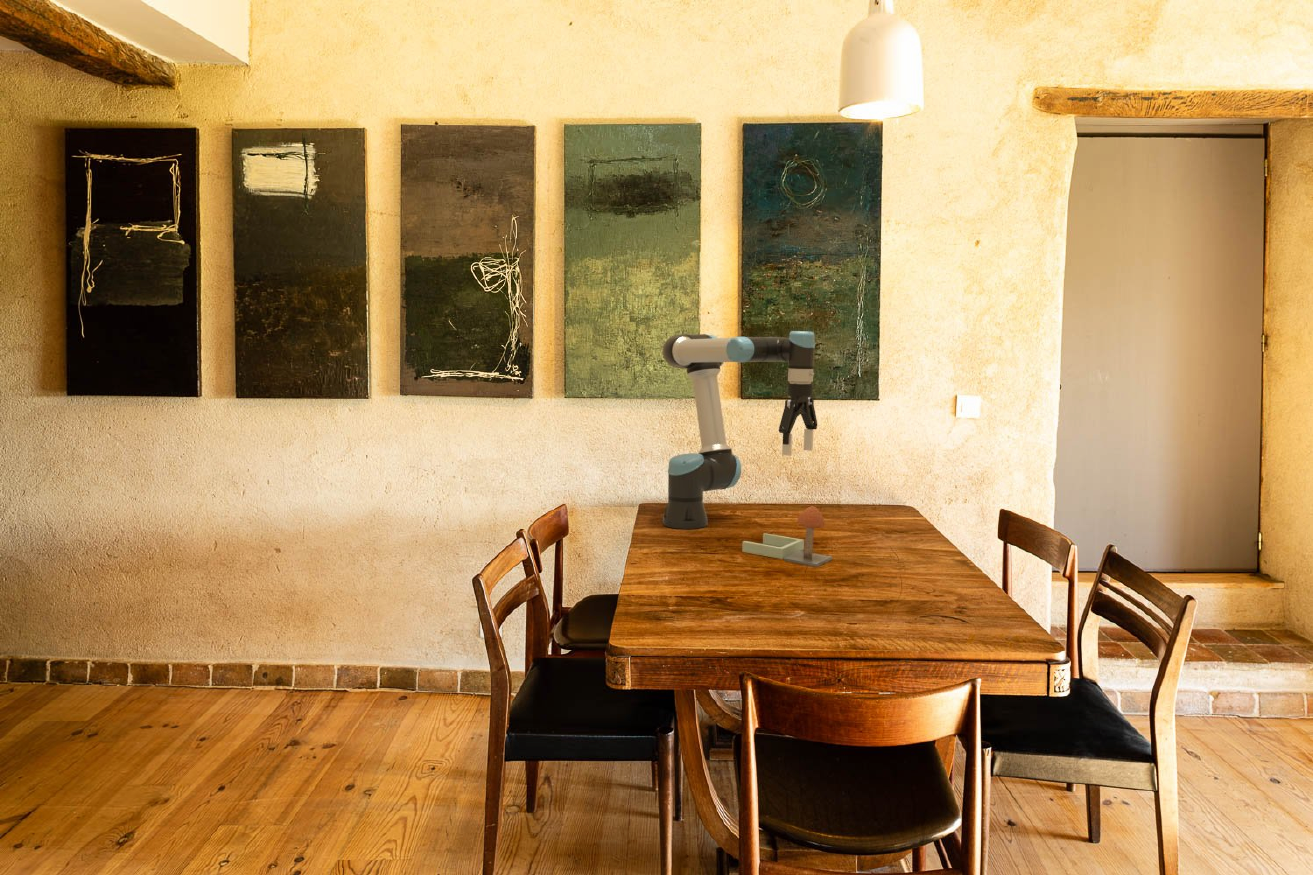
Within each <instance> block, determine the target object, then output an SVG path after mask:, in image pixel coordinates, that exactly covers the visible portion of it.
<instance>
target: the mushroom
mask: <svg viewBox="0 0 1313 875" xmlns="http://www.w3.org/2000/svg"><path fill="white" fill-rule="evenodd" d="M796 523H797V524H799V525H800V526H802V527H805V528H806V529H805V539H804V550H802V551H803V554H804V556H805V557H808V558H810V557H812V554H813V553H814V545H813V544H814V532H815V529H818V528H819V529H820V528H823V527H825V526H826V522H825V519H824V517H823V515H822V513H821V511H820V510H819V509H818V508H817V507H816V506H814V505H811V506H809V507H807V508H806V509H805V510H803V511H802V512H801V513H800V515H799V516H798V518H797V520H796Z"/></svg>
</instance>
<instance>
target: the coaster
mask: <svg viewBox="0 0 1313 875" xmlns="http://www.w3.org/2000/svg"><path fill="white" fill-rule="evenodd" d="M832 560H833V555H827V554H826V555H825V554H820V553H815V552H813V554H812V557H810V558H808V557H805V556H804V554H803V550H802V551H799V552H797V553H795V554H793V555H790V556H788V557H786V558H784V560H783V561H784V562H789V563H794V564H798V565H805V566H810V567H815V568H817V567H820V566H821V565H824V564H825V563H828V562H829V561H832Z"/></svg>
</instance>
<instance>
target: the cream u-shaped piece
mask: <svg viewBox="0 0 1313 875" xmlns="http://www.w3.org/2000/svg"><path fill="white" fill-rule="evenodd" d="M804 545H805V539H803V538H801V539H800V538H796V537H788V536H783V535H777V534H773V533H772V534H771V533H763V534H762V543H758V542H752V541H747V540H744V541H742V546H741V547H742V549H741V550H742V552H741V553H748V554H753V555H759V556H765V557H769V558H773V559H774V558H775V559H779V560H783V559H784V558H786V557H788V556H790V555H793V554H795V553H797V552H799V551H803V550H804Z"/></svg>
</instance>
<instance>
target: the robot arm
mask: <svg viewBox="0 0 1313 875" xmlns="http://www.w3.org/2000/svg"><path fill="white" fill-rule="evenodd" d="M815 337H816V336H815V332H813V331H805V330H802V331H800V330H791V331H790V332H789V336H788V337H782V336H734V337H717V336H716V335H713V334H706V333H703V334H702V333H701V334H683V333H682V334H674V335H672V336H670V337H669V338H668V339H666V341H665V342H664V344H663V346H662V357H663V359H664V361H665V362H666V363H667V364H668V366H670V367H672V368H675V369H686V373H687V374H686V375H687V377H689V378H690V379H691V380H692V386H693V393H694V401H695V408H696V416H697V421H698V422H697V423H698V424H697V425H698V430H699V437H700V445H701V448H700V449H699V451H698V452H695V453H694V452H692V453H691V452H690V453H683V454H681V453H680V454H677V455H675V456H672V457H671V458H670V460H669V462H668V469H667V474H668V476H667V477H668V478H667V479H668V484H667V485H668V487H667V491H668V492H667V495H668V496H667V504H666V507H665V510H664V513H663V516H662V525H663V526H665V527H668V528H671V529H677V530H678V529H682V530H695V529H702V528H705V527H707V526H708V522H709V521H708V520H709V519H708V516H707V512H706V508H705V506H704V502H703V500H704V492H709V491H718V490H726V489H730V488H733V487H735V486H736V485H737V484H738V482H739V480H740V478H741V477H742V476H741V475H742V463H741V460H740V459H739V457H738V456H737V455H735V454H733V449H732V447H730V445H728V444H727V439H726V432H725V427H724V425H725V423H724V419H723V410H722V403H721V395H720V388H719V382H718V375H719V374H720V372H721V367H722V366H723V365H724V363H740V364H741V363H760V362H761V363H765V362H766V363H767V362H769V363H772V362H775V363H777V362H781V363H788V365H787V366H788V367H787V372H788V374H787V381H788V382H789V383H787V389H786V391H787V395H788V396H790V399H785V402H784V408H783V412H782V416H781V419H780V423H779V427H778V433H780V434H782V443H781V444H782V445H781V446H782V447H781V450H782V451H781V455H782V456H788V457H790V456H792V450H793V449H792V446H793V433H792V431H793V428H794V426H795V424H796V420H797V419H798V417H799V416H801V418H802V421H803V424H804V426H805V428H804V430H803V451H808V452H809V451H811V452H812V451H813V450H814V449H813V448H814V430H817V429H818V421H817V420H818V419H817V415H816V408H815V404H814V397H812V396H813V393H814V392H813V391H814V385H813V382H814V375H815V372H814V368H815V367H814V361H815V349H816V348H815V347H816V343H815V342H816V341H815V340H816V339H815Z"/></svg>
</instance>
